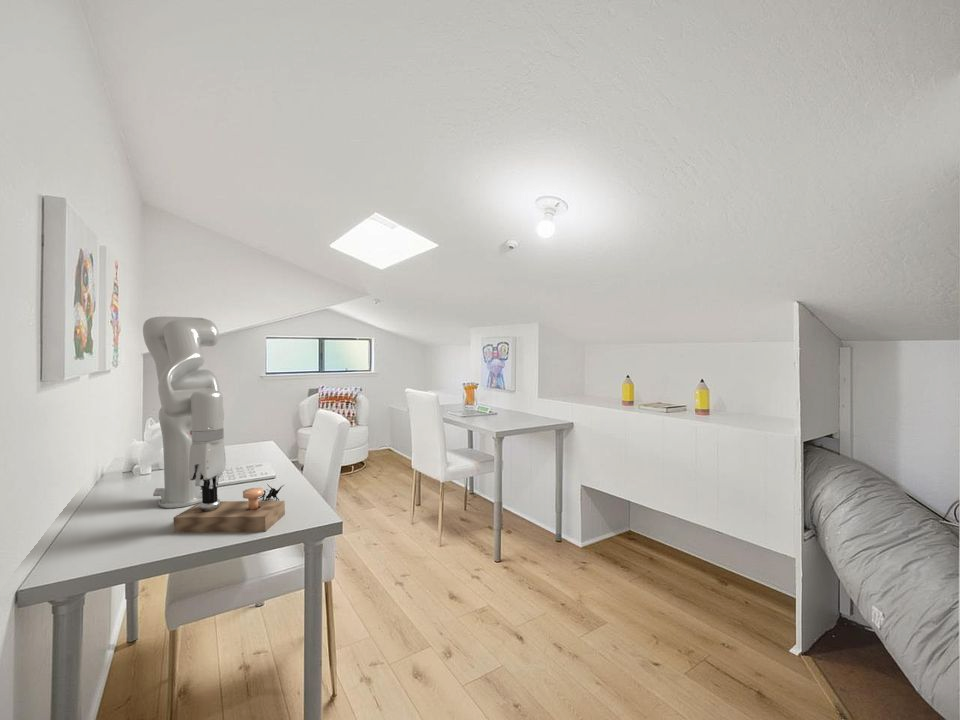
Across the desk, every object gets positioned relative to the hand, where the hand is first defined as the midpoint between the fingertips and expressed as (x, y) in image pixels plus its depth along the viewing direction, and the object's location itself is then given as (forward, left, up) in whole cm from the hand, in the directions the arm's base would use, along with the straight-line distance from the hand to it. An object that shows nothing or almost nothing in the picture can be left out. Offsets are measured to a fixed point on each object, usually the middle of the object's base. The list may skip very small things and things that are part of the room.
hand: (210, 502), depth 125 cm
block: (+6, 0, -6) cm, 8 cm away
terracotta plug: (+12, 0, -2) cm, 12 cm away
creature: (+8, +17, -6) cm, 20 cm away
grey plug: (0, 0, -5) cm, 5 cm away
